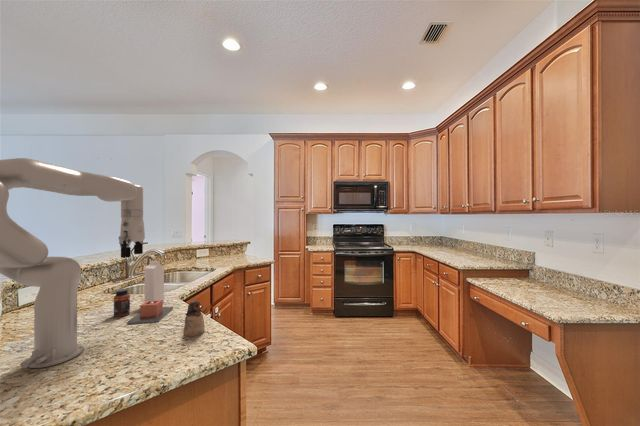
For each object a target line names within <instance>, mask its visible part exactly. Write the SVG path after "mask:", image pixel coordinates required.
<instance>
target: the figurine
mask: <svg viewBox="0 0 640 426" xmlns="http://www.w3.org/2000/svg"><path fill="white" fill-rule="evenodd" d="M200 304H201V302H200V301H197V300H192V301H191V302H190V303H188V305H187V306H188V307H187V311H186V313H185V318H184V327H183V336H184V337H190V338H191V337H197V336H200V335H201V334H203V333H204V332H205V328H206V327H205V321H204V316H203V313H202V308H201V306H200Z"/></svg>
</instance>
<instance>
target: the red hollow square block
mask: <svg viewBox="0 0 640 426" xmlns="http://www.w3.org/2000/svg"><path fill="white" fill-rule="evenodd" d="M150 302H154V303H155V304H149V303H150ZM163 305H164V303H163V300H152V301H146V302H145V301H144V303H141V304H140V305H139V313H140V317H149V316H157V315H158V314H159V313H161V312H162V311H163V307H164V306H163Z"/></svg>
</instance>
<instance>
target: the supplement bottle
mask: <svg viewBox="0 0 640 426" xmlns="http://www.w3.org/2000/svg"><path fill="white" fill-rule="evenodd" d="M130 314H131V294H129V293H128V289H127V288H121V289H118V290H116V293H115V296H113V316H114V318H121V317H123V318H124V317H126V316H128V315H130Z"/></svg>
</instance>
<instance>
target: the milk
mask: <svg viewBox="0 0 640 426" xmlns="http://www.w3.org/2000/svg"><path fill="white" fill-rule="evenodd" d="M164 271H165V266H164V265H162V264H160V262H159V260H150V261H149V264H148V265H147V266H146V267H144V303H145V302H146V301H152V300H163V304H164V303H165V272H164Z"/></svg>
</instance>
